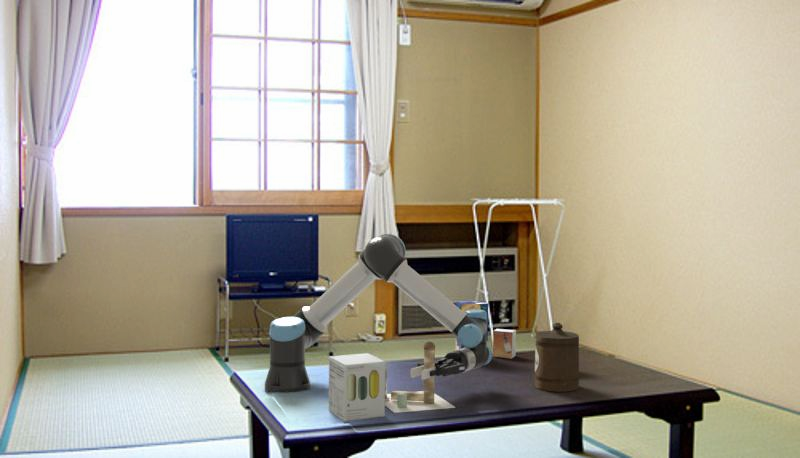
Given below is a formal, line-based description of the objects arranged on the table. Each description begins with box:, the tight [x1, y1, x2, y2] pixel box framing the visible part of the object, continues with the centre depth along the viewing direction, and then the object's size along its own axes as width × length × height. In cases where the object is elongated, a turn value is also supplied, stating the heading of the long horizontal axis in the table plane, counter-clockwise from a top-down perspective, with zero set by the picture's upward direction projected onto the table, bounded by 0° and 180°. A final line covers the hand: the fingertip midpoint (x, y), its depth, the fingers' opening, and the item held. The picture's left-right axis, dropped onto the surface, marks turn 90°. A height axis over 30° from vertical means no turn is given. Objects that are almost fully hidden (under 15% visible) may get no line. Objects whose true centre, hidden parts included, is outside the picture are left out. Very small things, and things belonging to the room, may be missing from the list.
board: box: [385, 390, 456, 414], centre depth 289 cm, size 20×22×1 cm
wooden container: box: [534, 322, 580, 393], centre depth 311 cm, size 15×15×22 cm
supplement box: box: [328, 352, 386, 424], centre depth 274 cm, size 13×13×18 cm
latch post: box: [397, 393, 407, 408], centre depth 282 cm, size 3×3×4 cm
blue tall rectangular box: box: [454, 300, 489, 351], centre depth 355 cm, size 7×11×22 cm, turn 106°
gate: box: [390, 341, 436, 404], centre depth 287 cm, size 14×4×19 cm, turn 79°
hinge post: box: [385, 361, 389, 402], centre depth 289 cm, size 4×4×12 cm
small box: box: [492, 328, 517, 359], centre depth 360 cm, size 8×6×10 cm
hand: (416, 374), depth 281 cm, fingers closed on gate, 3 cm apart
